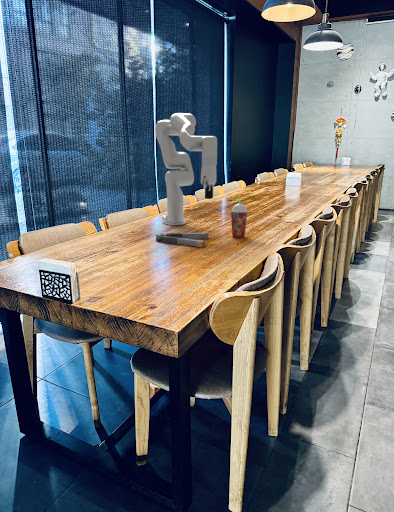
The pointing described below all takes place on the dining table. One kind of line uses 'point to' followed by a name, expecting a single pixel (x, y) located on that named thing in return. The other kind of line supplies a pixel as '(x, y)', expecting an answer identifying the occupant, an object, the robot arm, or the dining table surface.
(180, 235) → the tongs moving jaw
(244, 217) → the smoothie
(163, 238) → the bar
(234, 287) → the dining table surface
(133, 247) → the dining table surface
